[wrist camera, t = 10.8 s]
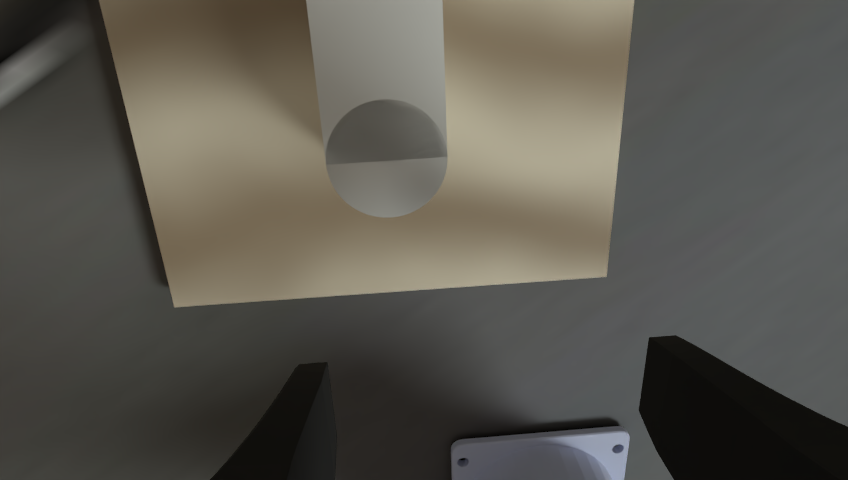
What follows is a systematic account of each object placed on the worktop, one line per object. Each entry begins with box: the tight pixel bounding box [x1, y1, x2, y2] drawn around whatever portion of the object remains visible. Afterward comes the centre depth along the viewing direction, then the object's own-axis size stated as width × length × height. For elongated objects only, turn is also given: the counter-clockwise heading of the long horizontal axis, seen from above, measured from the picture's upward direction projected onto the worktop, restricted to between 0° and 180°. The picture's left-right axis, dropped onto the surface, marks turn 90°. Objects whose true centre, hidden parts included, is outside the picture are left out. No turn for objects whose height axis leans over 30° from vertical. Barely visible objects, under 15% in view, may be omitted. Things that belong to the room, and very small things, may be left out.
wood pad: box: [99, 0, 634, 307], centre depth 18 cm, size 18×16×1 cm
